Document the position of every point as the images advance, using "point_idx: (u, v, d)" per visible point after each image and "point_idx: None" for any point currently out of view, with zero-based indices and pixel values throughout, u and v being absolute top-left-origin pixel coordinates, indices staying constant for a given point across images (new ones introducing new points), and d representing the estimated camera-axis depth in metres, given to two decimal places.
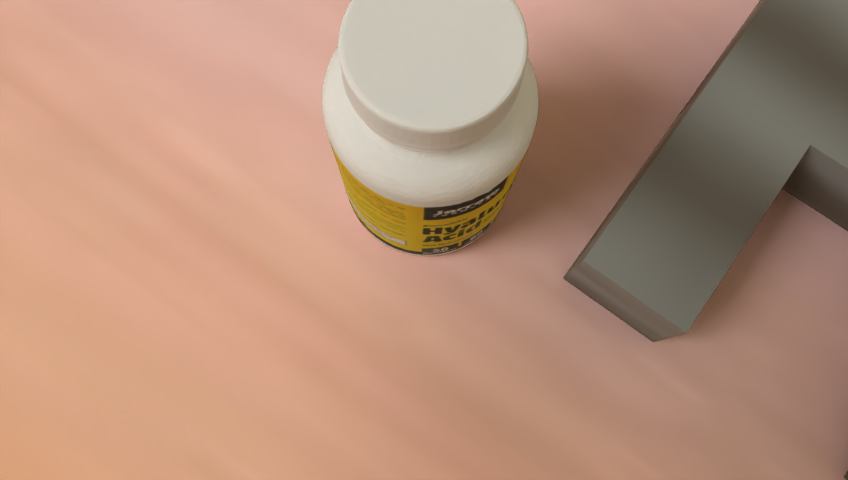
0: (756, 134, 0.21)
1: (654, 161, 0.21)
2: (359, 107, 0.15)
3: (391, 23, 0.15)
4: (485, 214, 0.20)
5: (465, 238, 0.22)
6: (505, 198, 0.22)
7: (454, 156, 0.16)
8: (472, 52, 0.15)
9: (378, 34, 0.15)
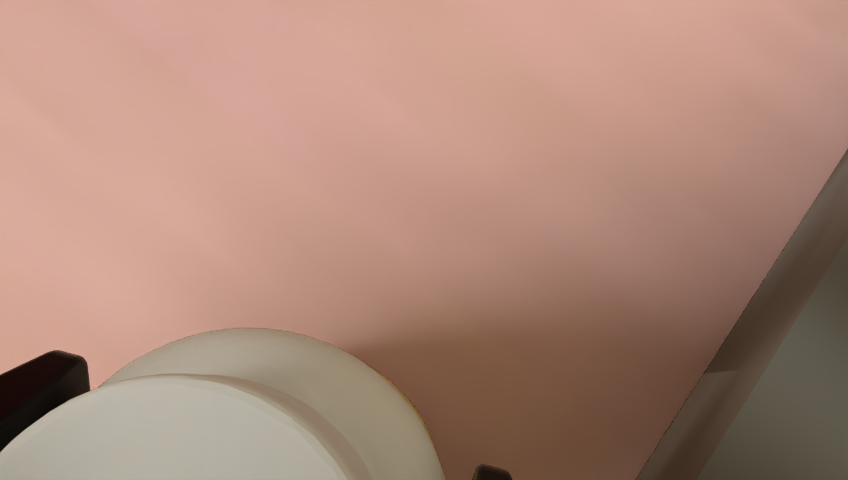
0: (845, 468, 0.13)
1: None
2: None
3: None
4: None
5: None
6: None
7: None
8: None
9: None
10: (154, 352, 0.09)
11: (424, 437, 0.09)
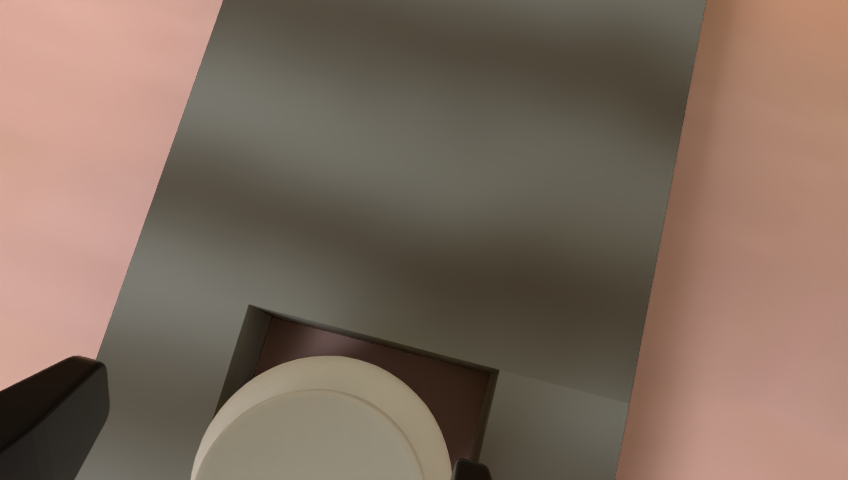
0: (189, 315, 0.19)
1: None
2: None
3: None
4: None
5: None
6: None
7: None
8: None
9: None
10: (270, 372, 0.15)
11: (435, 422, 0.15)
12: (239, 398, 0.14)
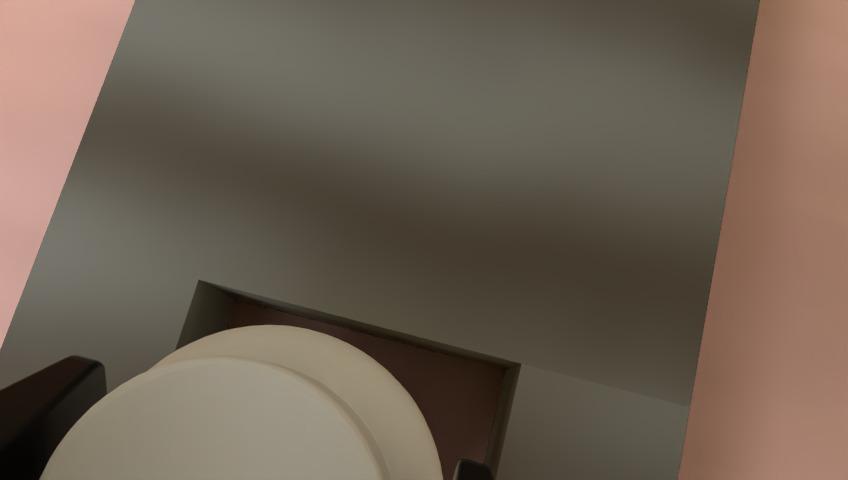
0: (122, 294, 0.15)
1: None
2: None
3: None
4: None
5: None
6: None
7: None
8: None
9: None
10: (193, 344, 0.11)
11: (421, 420, 0.11)
12: None
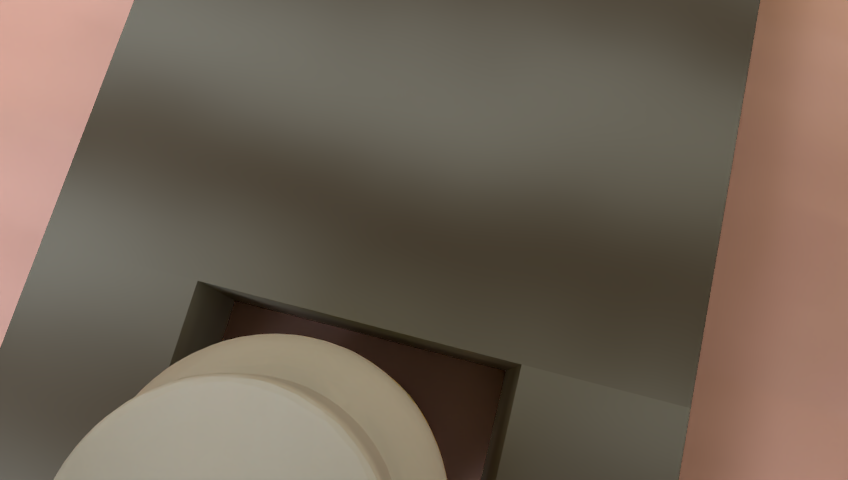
0: (120, 295, 0.15)
1: None
2: None
3: None
4: None
5: None
6: None
7: None
8: None
9: None
10: (198, 353, 0.11)
11: (427, 431, 0.11)
12: (152, 388, 0.10)
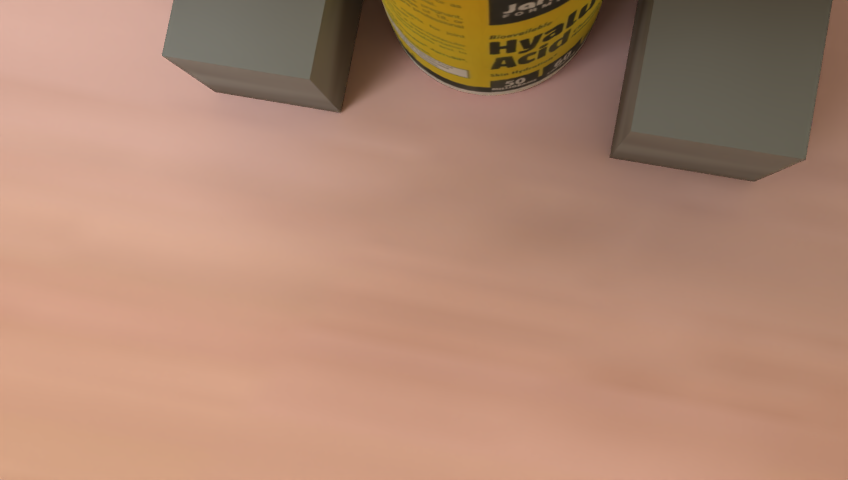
0: None
1: None
2: None
3: None
4: (576, 19, 0.14)
5: (548, 62, 0.16)
6: (601, 3, 0.16)
7: None
8: None
9: None
10: None
11: None
12: None
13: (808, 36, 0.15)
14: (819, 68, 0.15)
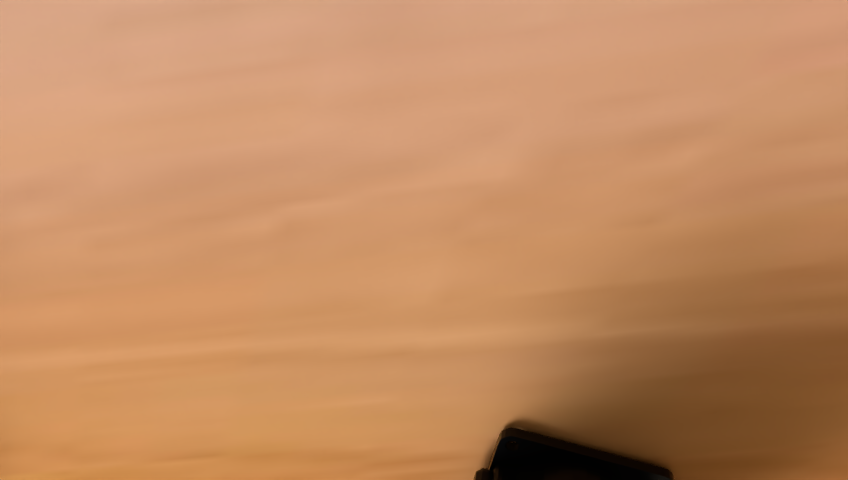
0: None
1: None
2: None
3: None
4: None
5: None
6: None
7: None
8: None
9: None
10: None
11: None
12: None
13: None
14: None
